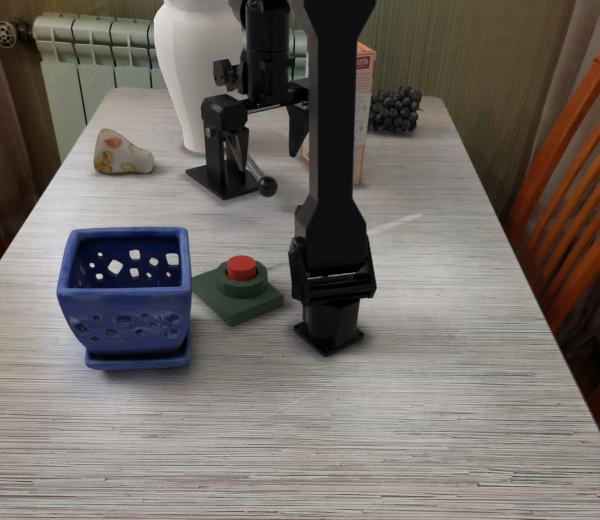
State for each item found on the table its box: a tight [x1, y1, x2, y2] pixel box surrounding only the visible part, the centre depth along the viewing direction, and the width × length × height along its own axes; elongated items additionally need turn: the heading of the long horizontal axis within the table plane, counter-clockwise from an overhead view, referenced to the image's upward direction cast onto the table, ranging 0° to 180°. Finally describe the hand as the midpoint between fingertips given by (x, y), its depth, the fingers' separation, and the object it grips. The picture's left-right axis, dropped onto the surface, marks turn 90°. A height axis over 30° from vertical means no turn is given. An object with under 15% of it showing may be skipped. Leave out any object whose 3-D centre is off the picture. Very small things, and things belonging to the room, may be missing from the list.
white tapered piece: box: [92, 127, 155, 175], centre depth 102 cm, size 8×10×10 cm
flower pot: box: [55, 226, 193, 371], centre depth 67 cm, size 13×13×12 cm
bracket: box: [184, 120, 258, 201], centre depth 99 cm, size 12×9×11 cm
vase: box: [153, 0, 244, 154], centre depth 103 cm, size 15×15×29 cm
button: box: [226, 254, 256, 281], centre depth 76 cm, size 4×4×2 cm
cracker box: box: [301, 36, 377, 185], centre depth 100 cm, size 14×6×21 cm, turn 22°
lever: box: [223, 133, 279, 198], centre depth 95 cm, size 16×3×3 cm, turn 38°
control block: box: [192, 259, 284, 327], centre depth 78 cm, size 10×8×4 cm
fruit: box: [367, 85, 424, 135], centre depth 120 cm, size 9×8×15 cm
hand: (267, 163), depth 90 cm, fingers open, 9 cm apart
